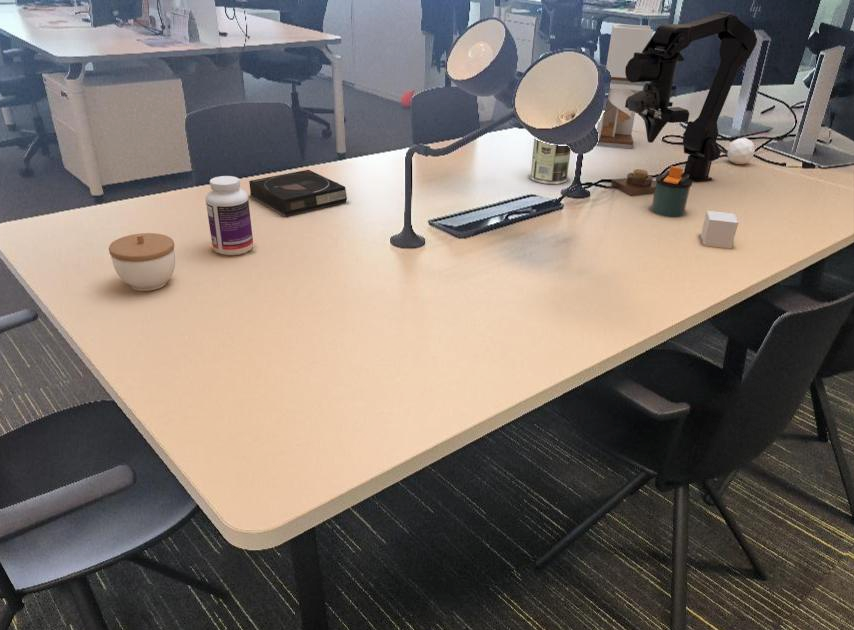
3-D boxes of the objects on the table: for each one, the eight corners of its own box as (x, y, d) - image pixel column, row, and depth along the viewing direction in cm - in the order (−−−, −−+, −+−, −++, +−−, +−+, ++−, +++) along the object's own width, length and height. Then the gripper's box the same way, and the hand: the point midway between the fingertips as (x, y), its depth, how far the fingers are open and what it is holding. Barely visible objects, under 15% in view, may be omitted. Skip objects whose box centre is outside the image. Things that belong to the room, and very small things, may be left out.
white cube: (700, 235, 161) (706, 210, 158) (727, 238, 160) (734, 213, 157) (703, 245, 156) (709, 219, 153) (731, 248, 155) (738, 222, 152)
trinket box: (143, 302, 121) (133, 252, 116) (104, 286, 126) (93, 237, 121) (192, 281, 129) (185, 233, 124) (154, 266, 134) (145, 220, 129)
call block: (643, 181, 194) (645, 169, 193) (664, 191, 188) (667, 179, 186) (610, 185, 190) (613, 172, 188) (631, 196, 183) (633, 182, 182)
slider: (667, 177, 171) (670, 165, 169) (681, 179, 170) (684, 168, 168) (663, 181, 167) (665, 170, 166) (677, 184, 166) (680, 172, 165)
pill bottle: (261, 245, 145) (254, 177, 137) (239, 260, 138) (231, 189, 131) (227, 239, 147) (219, 171, 139) (204, 253, 140) (194, 182, 133)
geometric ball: (728, 170, 218) (723, 145, 218) (756, 163, 216) (750, 138, 216) (731, 164, 210) (725, 138, 211) (759, 156, 208) (753, 130, 209)
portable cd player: (287, 217, 159) (285, 200, 157) (250, 196, 170) (249, 180, 168) (347, 203, 169) (346, 187, 167) (309, 185, 180) (308, 169, 177)
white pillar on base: (596, 145, 226) (614, 27, 208) (595, 137, 235) (612, 23, 217) (632, 148, 225) (653, 29, 207) (630, 140, 234) (650, 25, 216)
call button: (640, 175, 189) (642, 168, 189) (649, 179, 187) (650, 172, 186) (630, 176, 188) (631, 169, 187) (638, 180, 185) (639, 173, 184)
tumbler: (654, 203, 179) (661, 168, 175) (688, 209, 176) (696, 174, 171) (645, 212, 173) (653, 177, 168) (681, 219, 169) (689, 183, 165)
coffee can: (564, 173, 198) (571, 123, 190) (569, 185, 189) (576, 132, 182) (528, 172, 198) (533, 121, 190) (531, 183, 189) (536, 130, 182)
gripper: (613, 74, 181) (604, 135, 189) (660, 89, 167) (648, 154, 175) (647, 73, 185) (637, 132, 193) (696, 86, 171) (683, 150, 179)
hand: (650, 142), depth 185 cm, fingers closed
